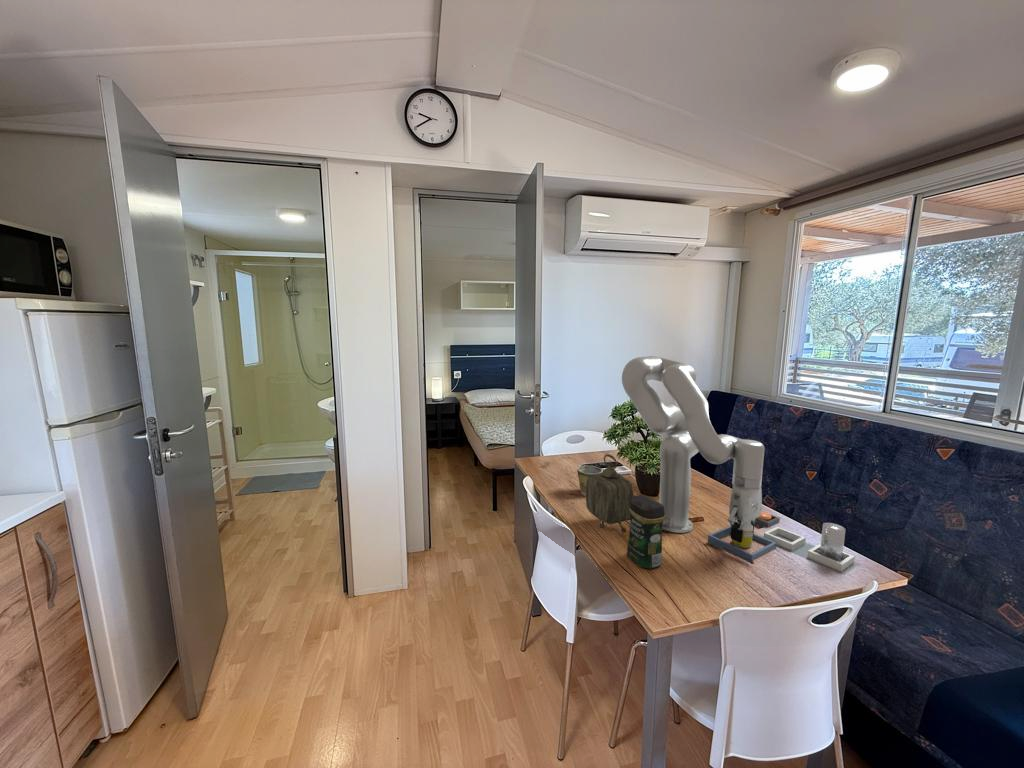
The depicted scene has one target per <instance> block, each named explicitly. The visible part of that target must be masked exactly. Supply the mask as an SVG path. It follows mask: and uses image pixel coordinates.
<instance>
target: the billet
mask: <svg viewBox="0 0 1024 768" xmlns="http://www.w3.org/2000/svg"><path fill="white" fill-rule="evenodd" d="M846 530H847V529H846V528H845V527H844V526H842V525H839V524H837V523H833V522H823V523H822V530H821V536H820V537H821V538H820V543H821V546H820V555H823V556H825V557H828V558H830V559H833V560H835V561H838V562H841V561H842V556H843V552H844V546H845V537H846Z"/></svg>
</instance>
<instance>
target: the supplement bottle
mask: <svg viewBox="0 0 1024 768" xmlns="http://www.w3.org/2000/svg"><path fill="white" fill-rule="evenodd" d="M736 517H737V518H739V516H736ZM736 522H737V523H738V524H739V522H740V521H738V520H736ZM750 523H751V520H750V521H748V522H743V526H742V529H741V530H743V536H742V542H741V543H739V542H737V541H735V540H733V539H731V543H732V545H734V546H736V547H738V548H740V549H751V548H752V546H753V539H752V536H753V526H752V524H750Z"/></svg>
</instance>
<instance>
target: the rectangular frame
mask: <svg viewBox="0 0 1024 768" xmlns="http://www.w3.org/2000/svg"><path fill="white" fill-rule="evenodd" d="M729 535H730V536H731V525H729V526H727V527H726V526H725V527H724V528H722V529H719V530H716V531H714V532H712V533H710V534H708V535H707V543H708V544H710V545H712V546H714V547H716V548H718V549H720V550H722V551H724V552H727V553H729V554H731V555H732V556H735V557H737V558H739V559H741V560H743V561H745V562H747V563H749V564H753V563H755V562H754V560H756V559H758V558H760V557H761V556H763V555H765V554H767V553H769V552H771V551H773V550H775V549H777V546H776V544H777V543H775V542H773V541H771V540H768V539H766V538H763V537H762V536H761V535H758V534H756V533H754V535H753V537H752V540H755V541H757V542H759V543H761V544H764V545H765V546H763V547H762V548H759V549H758V550H756V551H753V552H749V551H746V550H744V549H743V548H741V547H738V546H736V545H734V544H731V543H729V542H727V541H725V540H722V539H723V538H725V537H727V536H729Z"/></svg>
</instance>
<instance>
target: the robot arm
mask: <svg viewBox="0 0 1024 768" xmlns="http://www.w3.org/2000/svg"><path fill="white" fill-rule="evenodd" d="M651 380H652V381H653V380H654V381H657V382H660V383H663V386H664V388H665V389H666V391H667V392H668V394H669V395H670V397H671V398H672V399H673V401H674V403H675V404H672V403H667V402H666V403H664V402H663V401H662V399H661V398H660V396H659V395H658V393H657V392H656V391H655V390H654V388H652V387H651V386H650V384H649V383H648V381H651ZM696 380H697V373H696V370H695V369H694V367H692V366H691V365H689V364H688V363H684V362H680V361H677V360H676V361H675V360H671V359H667V358H664V357H663V358H662V357H660V356H653V355H652V356H651V355H649V356H639V357H635V358H633V359H631V360H629V361H628V362H627V363H626V364H625V366H624V368H623V370H622V373H621V383H622V386H623V387H622V388H623V389H624V391H625V393H626V395H627V397H628V398H629V399H630V400H631V402H632V404H633V405H634V407H635V408H636V410H637V412H638V413H639V415H640V416H641V418H642V419H643V421H644V422H645V424H646V426H647V427H648V429H649V430H650V431H651V432H652V433H654V434H656V435H661V434H665V435H666V437H665V438H664V439H663V440H662V441H661V443H660V447H659V458H660V459H659V461H660V475H659V476H660V477H659V479H660V481H659V494H658V495H659V496H658V497H659V499H658V502H659V503H660V504H662V505H663V506H664V511H665V518H664V521H663V525H662V531H663V530H664V531H666V532H670V533H677V534H683V533H688V532H691V531H692V530H693V529H694V528H693V527H694V524H693V522H692V521H691V520H690V519H689V513H690V499H691V497H690V496H691V484H692V483H691V481H692V469H691V459H692V457H694V456H695V455H697V454H698V453H699V454H701V456H702V457H703V459H705V460H706V461H707V462H708V463H710V464H713V465H721V464H724V463H725V462H727V461H729V460H731V459H732V460H733V468H732V481H731V482H732V483H731V484H732V490H731V493H730V501H729V508H728V510H729V511H728V515H729V516H728V518H727V521H728V523H729V524H730V526H731V534H730V540H732V539H733V540H735V541H737V542H739V543H741V542H742V536H743V530H741V529H742V526H743V522H748V521H750V520H751V523H750V524H752V526H753V535H754V534H755V525H754V524H755V519H756V518H757V517H759V516H760V515H761V511H762V507H763V506H762V505H763V503H762V502H763V497H762V496H763V493H762V481H763V468H764V460H765V459H764V458H765V446H764V444H763V443H762V442H761V441H759V440H758V441H757V440H754V439H742V438H740V437H739V438H738V437H736V436H733V435H729V434H723V433H721V434H718V433H717V432H716V430H715V428H714V426H713V425H712V421H711V420H710V415H709V412H710V411H709V408H710V406H709V405H710V404H709V402H708V400H707V398H706V396H705V395H704V394H703V392H702V391H701V390H700V388H699V387H698V385H697V384H696ZM736 516H739V518H737V517H736ZM736 520H738V521H740V522H739V524H738V523H737V522H736ZM752 537H753V536H752Z"/></svg>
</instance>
